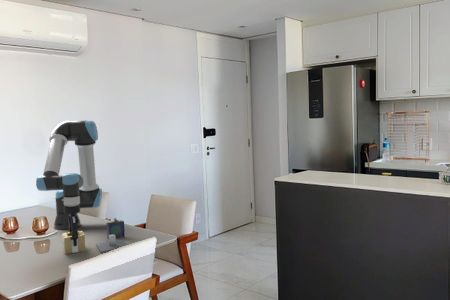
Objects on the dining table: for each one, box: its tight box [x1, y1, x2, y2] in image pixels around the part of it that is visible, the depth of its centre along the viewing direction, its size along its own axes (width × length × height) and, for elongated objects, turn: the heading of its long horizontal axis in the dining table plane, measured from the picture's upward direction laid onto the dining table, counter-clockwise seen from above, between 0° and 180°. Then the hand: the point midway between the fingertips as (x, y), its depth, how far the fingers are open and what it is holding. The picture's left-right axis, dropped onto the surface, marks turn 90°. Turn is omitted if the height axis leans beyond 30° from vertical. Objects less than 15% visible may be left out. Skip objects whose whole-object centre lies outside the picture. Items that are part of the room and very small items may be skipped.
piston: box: [95, 235, 129, 254], centre depth 210 cm, size 14×14×6 cm
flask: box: [106, 217, 125, 240], centre depth 227 cm, size 9×3×11 cm, turn 109°
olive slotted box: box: [61, 230, 86, 255], centre depth 207 cm, size 10×10×8 cm
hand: (73, 249), depth 207 cm, fingers closed on olive slotted box, 9 cm apart
